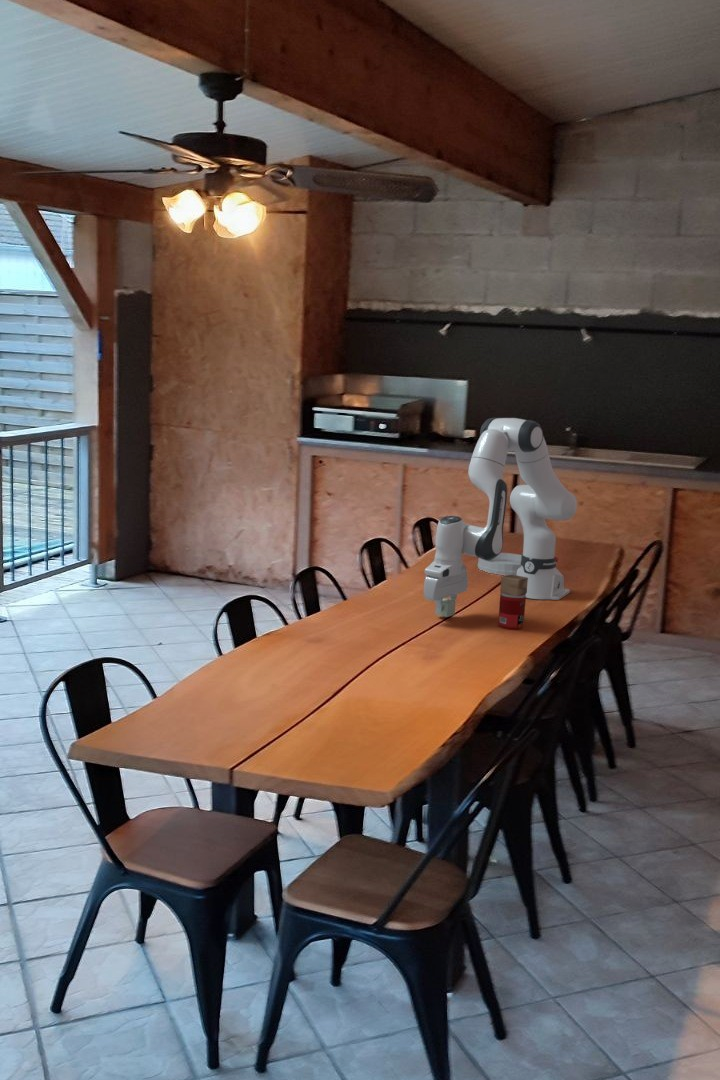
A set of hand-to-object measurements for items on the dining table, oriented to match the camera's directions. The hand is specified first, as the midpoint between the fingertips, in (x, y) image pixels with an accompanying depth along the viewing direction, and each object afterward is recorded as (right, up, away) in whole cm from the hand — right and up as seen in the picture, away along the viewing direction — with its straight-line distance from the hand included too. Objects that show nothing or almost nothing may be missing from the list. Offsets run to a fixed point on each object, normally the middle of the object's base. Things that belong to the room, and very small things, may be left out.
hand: (445, 609), depth 341 cm
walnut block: (+21, +6, -8) cm, 23 cm away
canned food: (+20, -5, -6) cm, 22 cm away
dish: (+30, +10, +77) cm, 83 cm away
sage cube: (0, -2, 0) cm, 2 cm away
